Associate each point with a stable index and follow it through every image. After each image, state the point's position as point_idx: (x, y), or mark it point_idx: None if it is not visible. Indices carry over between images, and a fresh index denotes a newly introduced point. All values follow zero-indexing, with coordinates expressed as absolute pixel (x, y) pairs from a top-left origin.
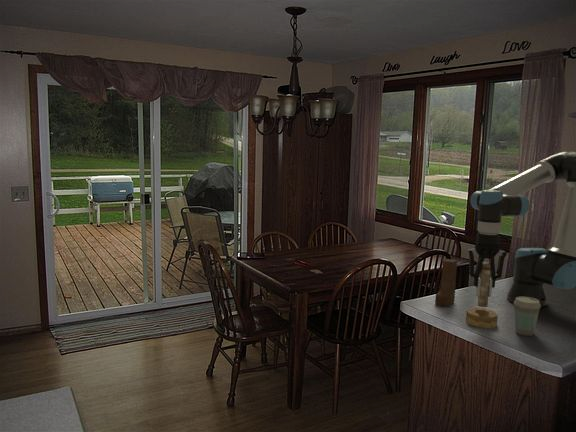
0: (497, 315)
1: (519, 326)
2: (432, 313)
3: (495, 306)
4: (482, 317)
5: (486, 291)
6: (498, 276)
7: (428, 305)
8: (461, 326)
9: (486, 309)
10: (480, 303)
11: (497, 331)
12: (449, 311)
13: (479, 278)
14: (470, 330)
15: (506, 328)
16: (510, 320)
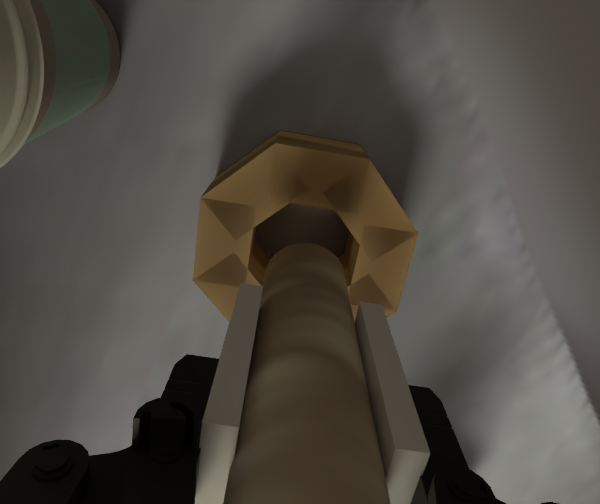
0: (204, 194)
1: (88, 3)
2: (549, 370)
3: None
4: (344, 153)
5: (295, 316)
6: (72, 469)
7: (504, 483)
8: (474, 154)
9: None
10: (338, 266)
11: (254, 64)
12: None
13: (397, 482)
14: (447, 77)
15: (166, 127)
16: (88, 273)
